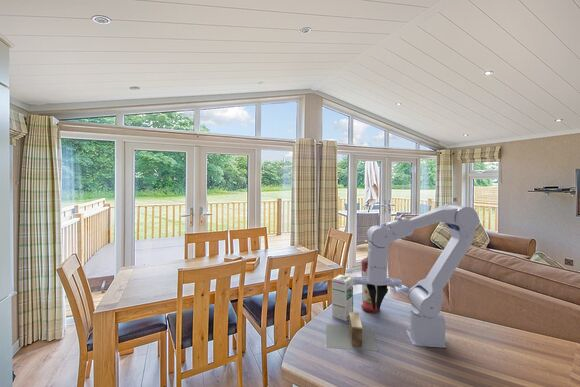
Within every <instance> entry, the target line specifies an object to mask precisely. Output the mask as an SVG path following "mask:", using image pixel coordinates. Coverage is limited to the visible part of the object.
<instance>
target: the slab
mask: <svg viewBox="0 0 580 387" xmlns="http://www.w3.org/2000/svg"><path fill="white" fill-rule="evenodd" d="M348 326H349V333H350V338H351V344H352V346H359V347H362V327H363V323H362V322H361V317H360V314H359V312H354V311H353V312H349V319H348Z"/></svg>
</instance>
